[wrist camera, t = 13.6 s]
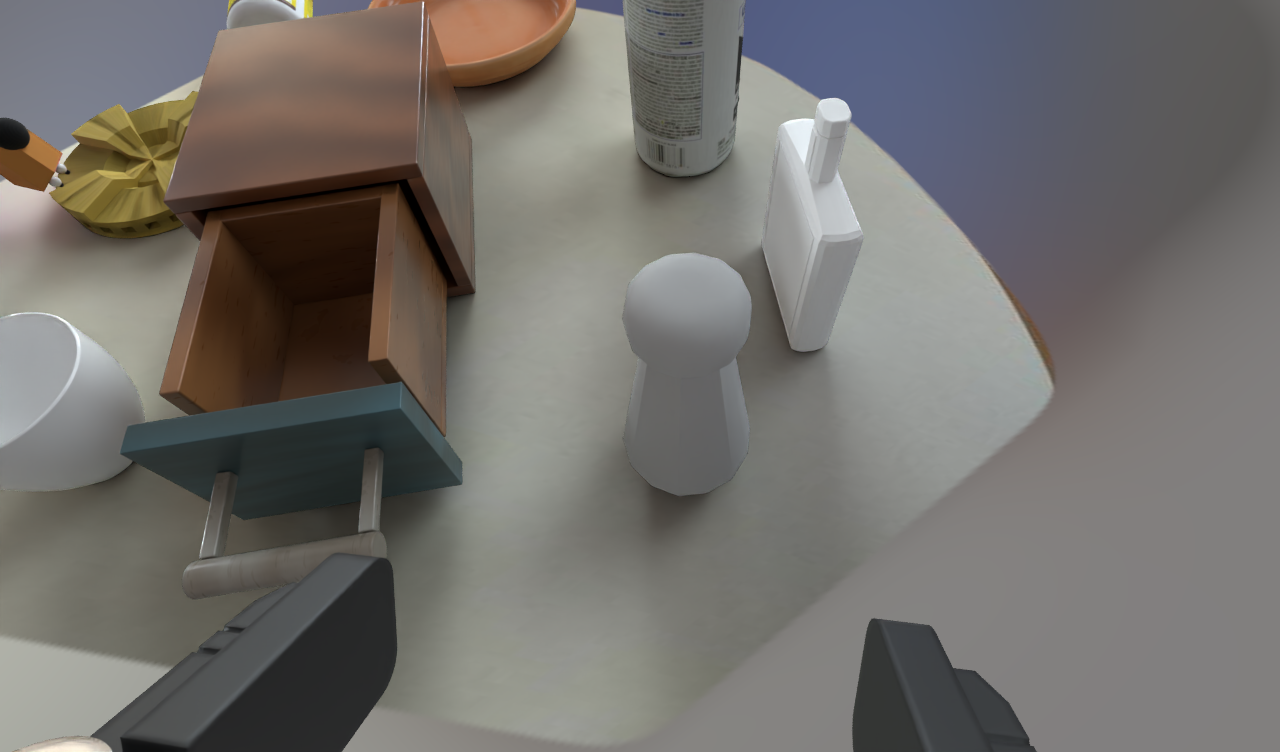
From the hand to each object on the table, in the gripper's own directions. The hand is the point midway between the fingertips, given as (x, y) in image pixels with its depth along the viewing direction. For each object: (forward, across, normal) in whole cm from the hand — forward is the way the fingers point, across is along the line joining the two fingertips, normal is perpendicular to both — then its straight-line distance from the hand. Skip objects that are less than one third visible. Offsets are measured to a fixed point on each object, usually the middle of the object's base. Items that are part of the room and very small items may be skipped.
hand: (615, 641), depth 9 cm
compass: (+32, +38, -8) cm, 51 cm away
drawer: (+21, +16, +6) cm, 27 cm away
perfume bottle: (+29, -5, -2) cm, 30 cm away
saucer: (+46, +19, -18) cm, 53 cm away
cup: (+20, +31, +8) cm, 38 cm away
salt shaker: (+22, 0, +6) cm, 23 cm away
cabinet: (+32, +21, -4) cm, 38 cm away
